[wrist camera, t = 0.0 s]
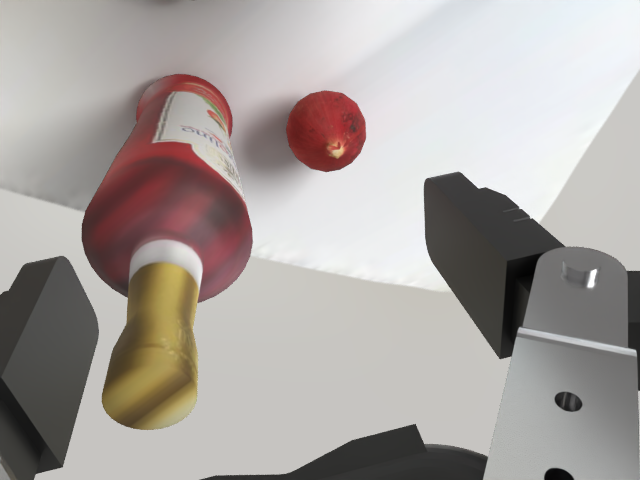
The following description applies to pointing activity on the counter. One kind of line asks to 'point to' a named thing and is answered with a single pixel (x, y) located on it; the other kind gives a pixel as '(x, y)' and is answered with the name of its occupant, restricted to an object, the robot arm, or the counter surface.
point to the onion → (326, 130)
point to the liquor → (167, 244)
